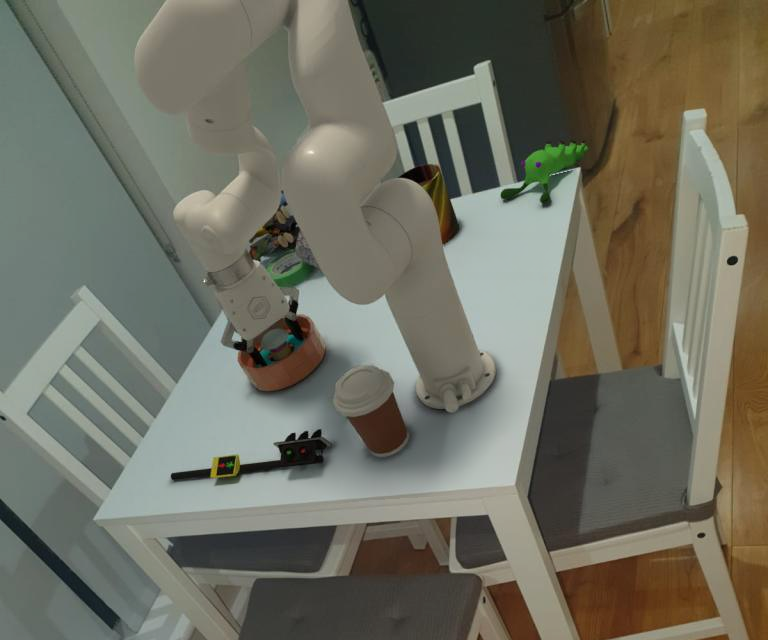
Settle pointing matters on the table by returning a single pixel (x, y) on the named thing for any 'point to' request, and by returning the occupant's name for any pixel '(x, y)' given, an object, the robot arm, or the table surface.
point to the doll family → (274, 231)
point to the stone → (305, 251)
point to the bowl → (290, 366)
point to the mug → (436, 197)
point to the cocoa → (372, 409)
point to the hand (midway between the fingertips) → (281, 350)
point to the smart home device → (293, 233)
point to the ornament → (278, 345)
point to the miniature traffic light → (291, 455)
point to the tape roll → (292, 275)
